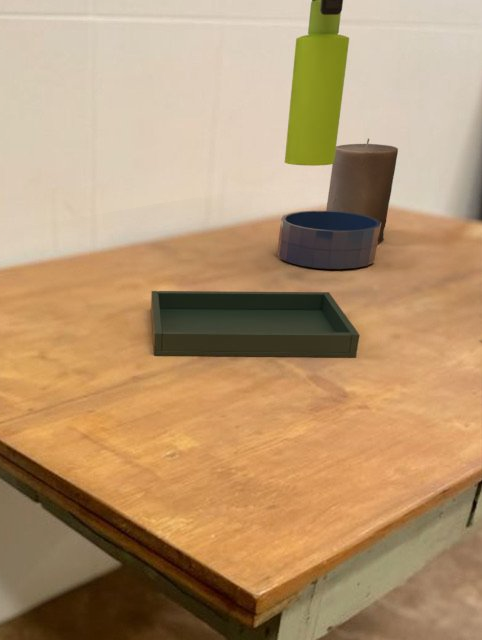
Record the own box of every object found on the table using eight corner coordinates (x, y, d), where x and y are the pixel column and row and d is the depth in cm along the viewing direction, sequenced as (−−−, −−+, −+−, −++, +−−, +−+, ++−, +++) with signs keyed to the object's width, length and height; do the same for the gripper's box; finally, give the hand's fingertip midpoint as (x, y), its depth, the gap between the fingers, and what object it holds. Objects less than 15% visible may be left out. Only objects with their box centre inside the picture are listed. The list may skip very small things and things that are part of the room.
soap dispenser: (277, 165, 97) (295, -38, 87) (290, 159, 102) (309, -33, 92) (327, 167, 95) (351, -41, 85) (338, 161, 100) (362, -35, 90)
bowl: (361, 247, 128) (367, 210, 125) (385, 271, 116) (392, 231, 113) (271, 246, 128) (274, 210, 125) (285, 270, 116) (290, 231, 113)
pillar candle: (395, 242, 131) (414, 140, 123) (347, 248, 128) (363, 144, 120) (356, 229, 139) (371, 133, 131) (309, 235, 135) (322, 136, 127)
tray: (326, 312, 100) (329, 292, 99) (356, 357, 87) (359, 334, 86) (150, 310, 101) (151, 290, 99) (153, 355, 87) (154, 333, 86)
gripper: (404, -201, 75) (374, 14, 84) (369, -171, 87) (346, 14, 96) (322, -199, 76) (301, 15, 84) (299, -169, 88) (282, 15, 97)
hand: (325, 14), depth 90 cm, fingers closed on soap dispenser, 5 cm apart
